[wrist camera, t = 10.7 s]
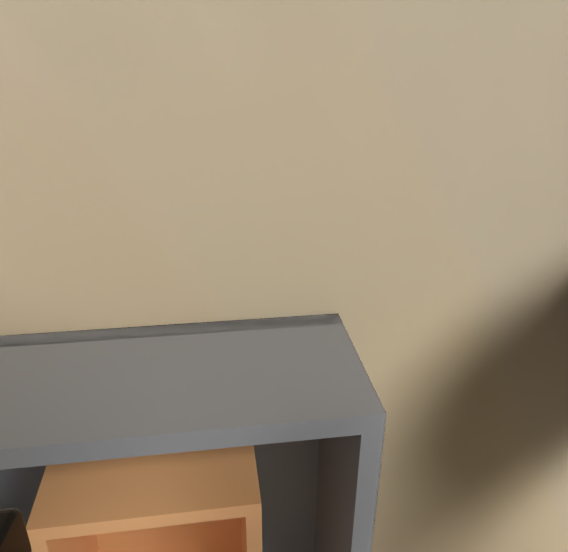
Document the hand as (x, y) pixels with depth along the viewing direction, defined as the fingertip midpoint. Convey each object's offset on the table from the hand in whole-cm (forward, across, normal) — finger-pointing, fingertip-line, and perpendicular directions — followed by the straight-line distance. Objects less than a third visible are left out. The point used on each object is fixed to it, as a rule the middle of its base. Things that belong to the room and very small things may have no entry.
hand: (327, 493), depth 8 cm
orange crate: (+11, +4, +12) cm, 17 cm away
